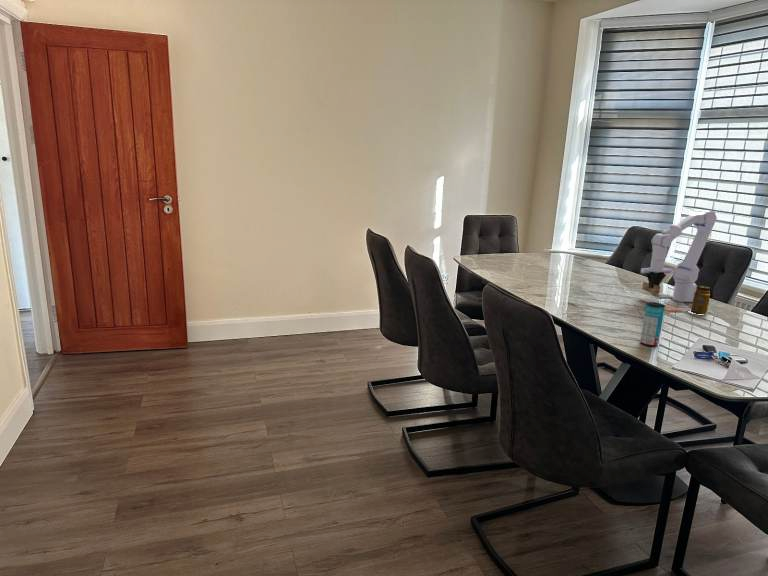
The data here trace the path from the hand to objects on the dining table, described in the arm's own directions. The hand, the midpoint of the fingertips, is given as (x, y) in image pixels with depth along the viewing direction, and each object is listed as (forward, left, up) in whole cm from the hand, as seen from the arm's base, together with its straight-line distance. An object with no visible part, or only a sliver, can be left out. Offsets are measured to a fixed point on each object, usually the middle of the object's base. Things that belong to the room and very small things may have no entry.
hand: (653, 287), depth 250 cm
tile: (0, +9, -7) cm, 11 cm away
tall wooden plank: (0, +2, -2) cm, 3 cm away
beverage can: (+40, +58, -7) cm, 71 cm away
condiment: (-10, +18, -7) cm, 22 cm away
